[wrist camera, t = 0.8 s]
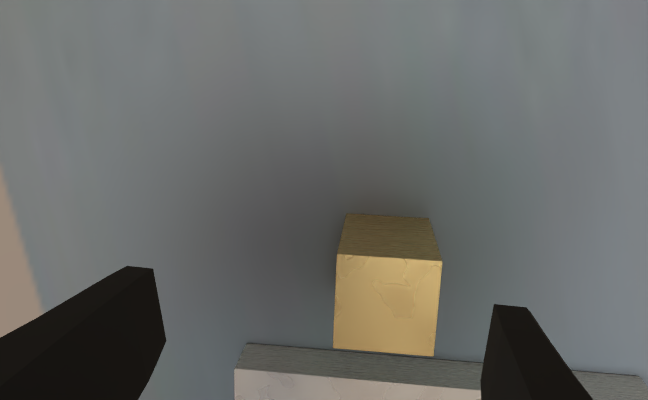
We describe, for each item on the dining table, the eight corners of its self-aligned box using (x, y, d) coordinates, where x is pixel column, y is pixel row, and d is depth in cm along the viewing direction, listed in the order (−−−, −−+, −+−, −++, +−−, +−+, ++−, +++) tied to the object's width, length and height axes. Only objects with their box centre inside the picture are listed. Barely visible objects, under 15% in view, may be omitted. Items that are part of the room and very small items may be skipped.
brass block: (422, 294, 27) (433, 356, 21) (343, 288, 27) (332, 347, 22) (428, 218, 26) (442, 261, 20) (346, 213, 26) (336, 254, 21)
